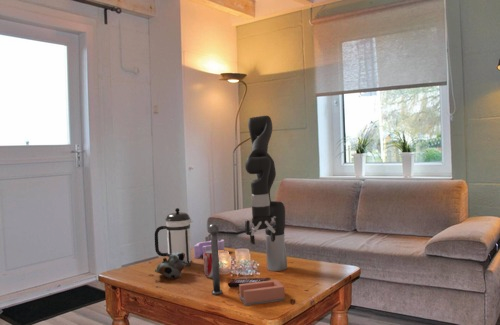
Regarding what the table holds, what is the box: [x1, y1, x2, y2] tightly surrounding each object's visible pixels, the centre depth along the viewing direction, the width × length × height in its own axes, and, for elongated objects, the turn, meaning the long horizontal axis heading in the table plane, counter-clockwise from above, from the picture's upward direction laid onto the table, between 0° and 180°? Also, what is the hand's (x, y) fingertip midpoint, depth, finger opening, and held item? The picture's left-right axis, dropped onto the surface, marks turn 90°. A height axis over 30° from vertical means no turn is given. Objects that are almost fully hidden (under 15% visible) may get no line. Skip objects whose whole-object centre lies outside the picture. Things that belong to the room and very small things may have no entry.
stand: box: [208, 223, 223, 296], centre depth 181 cm, size 4×4×29 cm
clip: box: [193, 239, 225, 260], centre depth 249 cm, size 20×12×7 cm, turn 147°
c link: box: [238, 279, 286, 303], centre depth 174 cm, size 16×10×4 cm, turn 104°
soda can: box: [203, 250, 213, 279], centre depth 206 cm, size 7×7×12 cm
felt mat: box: [238, 294, 286, 307], centre depth 174 cm, size 16×12×1 cm
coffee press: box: [154, 207, 194, 267], centre depth 230 cm, size 17×16×30 cm
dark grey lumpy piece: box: [154, 252, 187, 280], centre depth 210 cm, size 15×12×14 cm
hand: (263, 242), depth 183 cm, fingers open, 8 cm apart
